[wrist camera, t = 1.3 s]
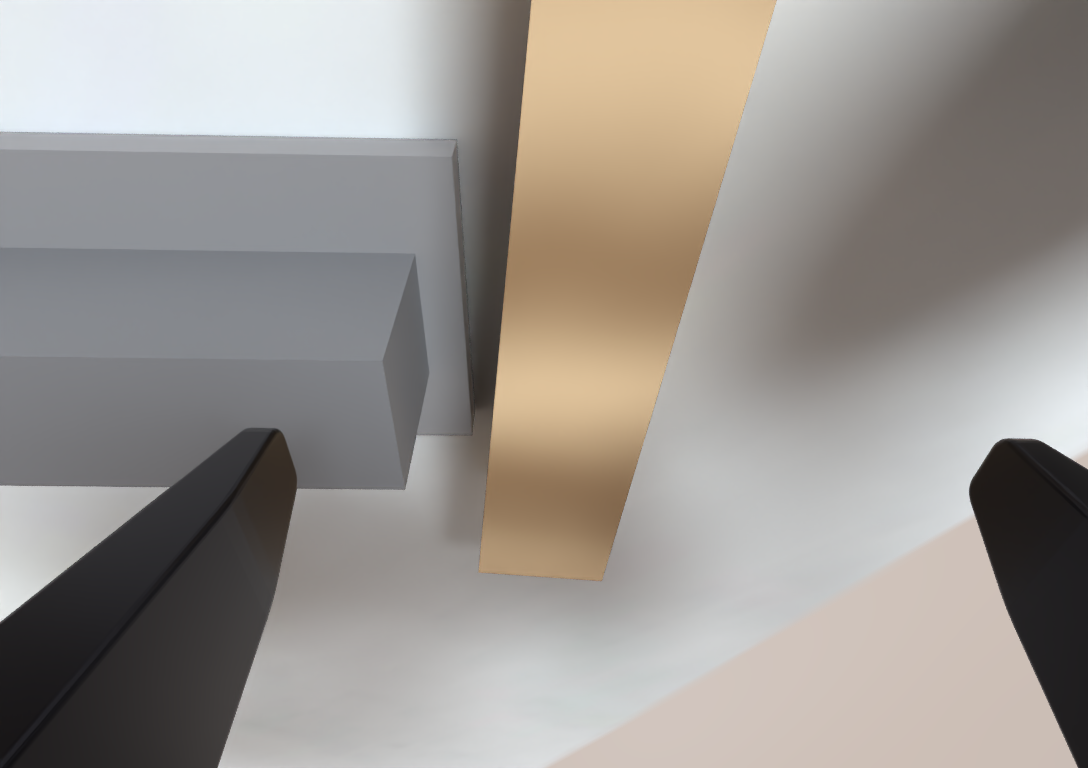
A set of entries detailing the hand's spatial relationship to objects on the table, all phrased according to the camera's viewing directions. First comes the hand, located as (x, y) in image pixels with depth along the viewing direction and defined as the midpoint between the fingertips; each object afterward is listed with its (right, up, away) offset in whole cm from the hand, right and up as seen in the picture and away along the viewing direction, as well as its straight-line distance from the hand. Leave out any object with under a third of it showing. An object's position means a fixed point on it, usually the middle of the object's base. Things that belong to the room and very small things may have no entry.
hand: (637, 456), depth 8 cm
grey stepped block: (-10, +3, +8) cm, 14 cm away
